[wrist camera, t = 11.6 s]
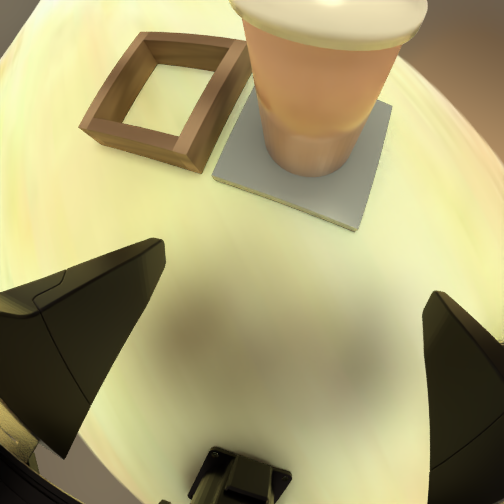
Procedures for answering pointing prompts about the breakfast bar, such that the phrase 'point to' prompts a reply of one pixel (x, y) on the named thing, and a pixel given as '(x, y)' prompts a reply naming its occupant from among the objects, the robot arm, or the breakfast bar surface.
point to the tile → (298, 187)
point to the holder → (203, 115)
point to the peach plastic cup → (321, 72)
